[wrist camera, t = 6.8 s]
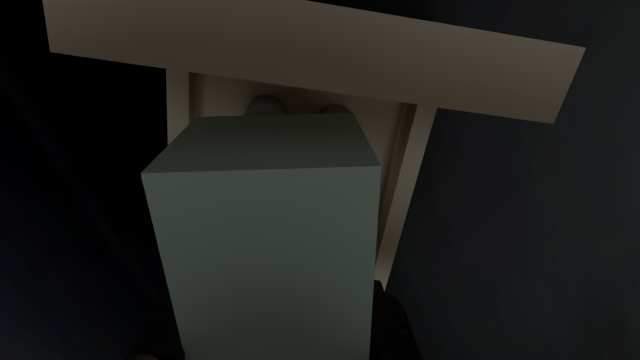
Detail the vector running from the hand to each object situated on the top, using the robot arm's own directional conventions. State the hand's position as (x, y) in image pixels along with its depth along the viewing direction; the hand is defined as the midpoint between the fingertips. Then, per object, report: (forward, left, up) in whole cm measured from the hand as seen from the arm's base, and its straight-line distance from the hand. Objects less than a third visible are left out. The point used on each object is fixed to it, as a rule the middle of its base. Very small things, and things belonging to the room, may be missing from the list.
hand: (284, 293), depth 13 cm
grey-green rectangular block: (0, 0, -1) cm, 1 cm away
